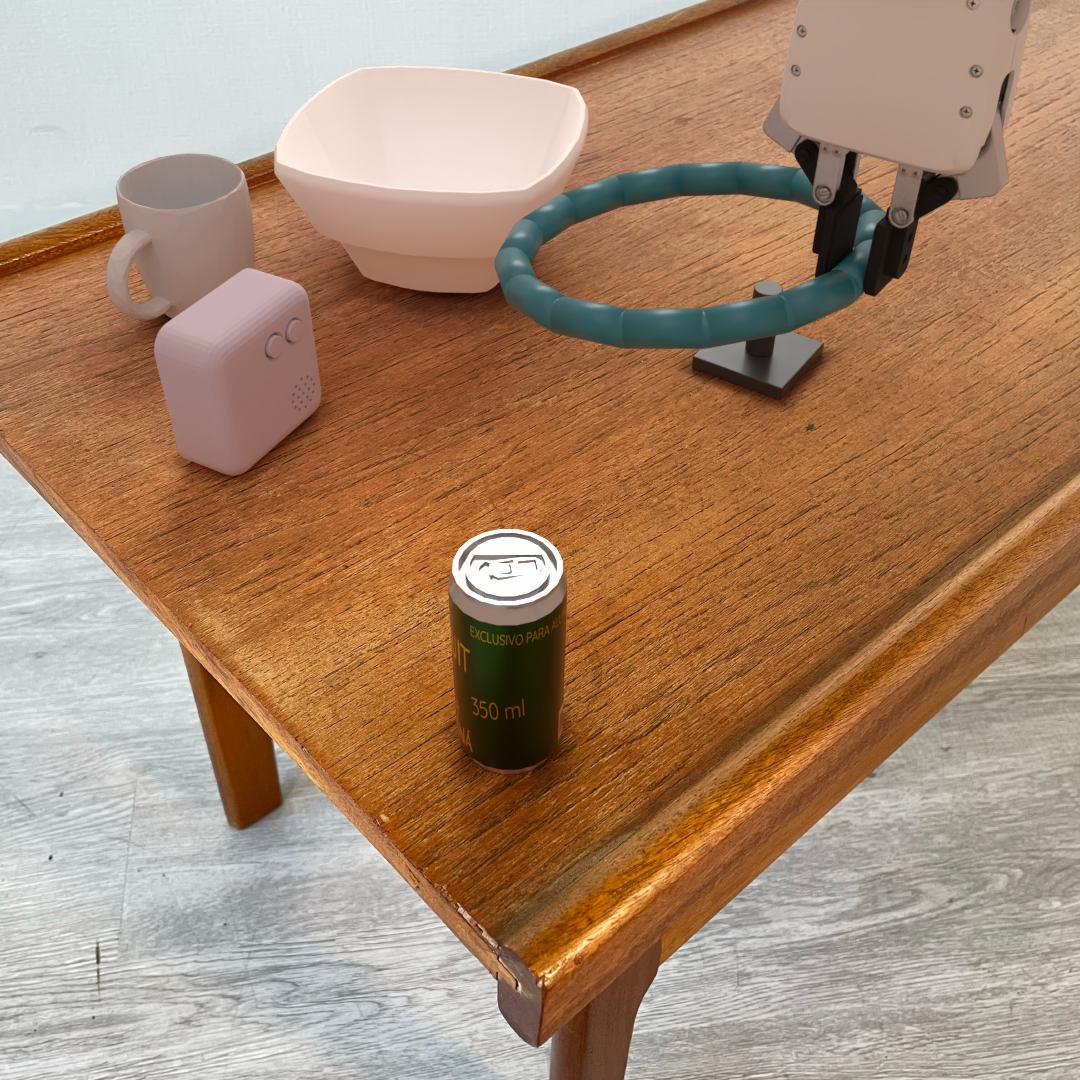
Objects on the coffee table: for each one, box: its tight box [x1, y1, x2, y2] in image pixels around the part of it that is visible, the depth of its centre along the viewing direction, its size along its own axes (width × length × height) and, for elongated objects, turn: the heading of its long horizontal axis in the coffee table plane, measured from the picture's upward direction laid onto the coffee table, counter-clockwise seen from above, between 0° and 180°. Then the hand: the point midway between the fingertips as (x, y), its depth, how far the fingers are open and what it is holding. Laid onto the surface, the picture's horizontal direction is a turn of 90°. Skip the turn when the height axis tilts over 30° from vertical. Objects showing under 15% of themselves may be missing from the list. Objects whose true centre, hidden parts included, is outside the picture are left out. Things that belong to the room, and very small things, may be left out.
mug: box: [105, 152, 256, 321], centre depth 87 cm, size 13×9×10 cm
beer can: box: [447, 528, 568, 775], centre depth 57 cm, size 5×5×12 cm
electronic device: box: [153, 268, 322, 477], centre depth 76 cm, size 10×5×10 cm, turn 152°
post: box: [691, 280, 825, 401], centre depth 85 cm, size 7×7×6 cm
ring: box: [494, 160, 887, 350], centre depth 68 cm, size 22×22×2 cm
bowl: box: [273, 65, 589, 294], centre depth 93 cm, size 22×22×12 cm
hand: (856, 274), depth 63 cm, fingers closed on ring, 2 cm apart
